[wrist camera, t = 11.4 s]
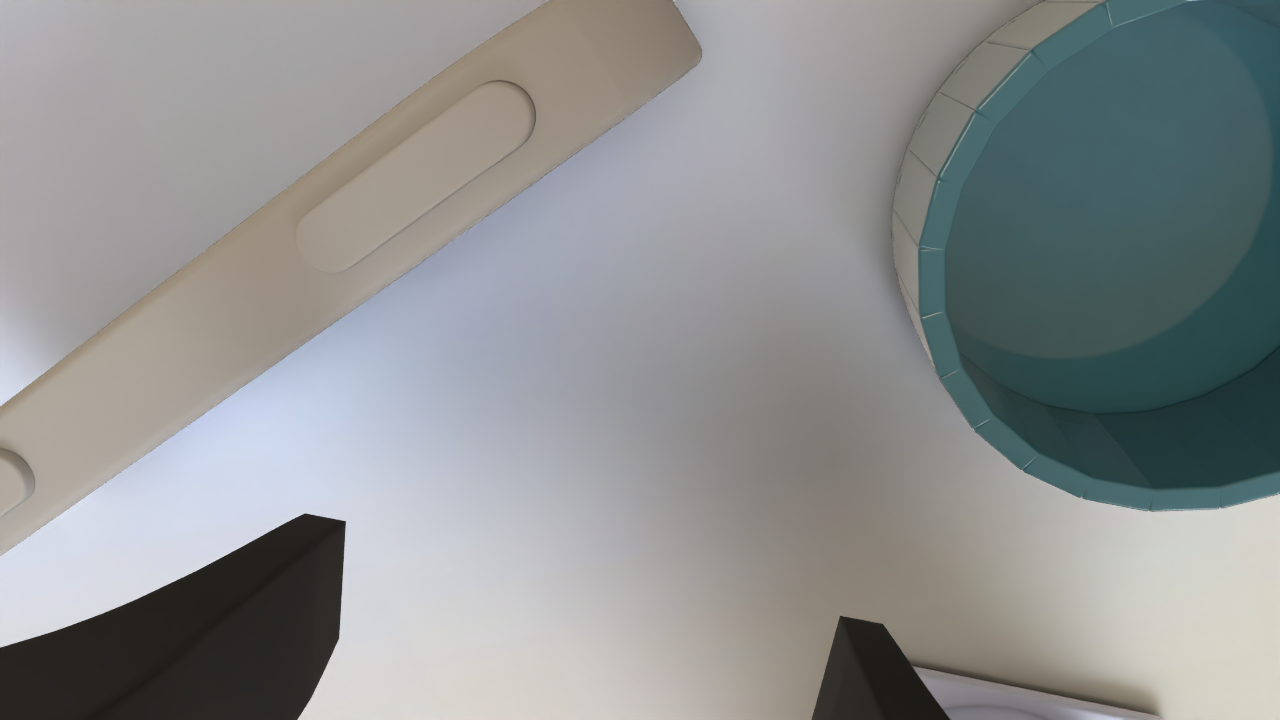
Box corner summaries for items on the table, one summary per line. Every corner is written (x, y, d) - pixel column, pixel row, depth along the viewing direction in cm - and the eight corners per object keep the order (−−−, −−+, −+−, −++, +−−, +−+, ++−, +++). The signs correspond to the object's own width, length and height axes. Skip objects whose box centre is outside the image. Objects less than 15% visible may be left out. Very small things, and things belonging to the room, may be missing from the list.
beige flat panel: (657, -47, 21) (595, -75, 13) (717, 48, 22) (692, 74, 14) (44, 411, 26) (-255, 581, 19) (103, 478, 27) (-165, 672, 19)
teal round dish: (1270, 462, 23) (1374, 556, 19) (846, 382, 24) (863, 457, 20) (1457, 16, 20) (1629, 20, 16) (957, -66, 20) (1004, -82, 16)
